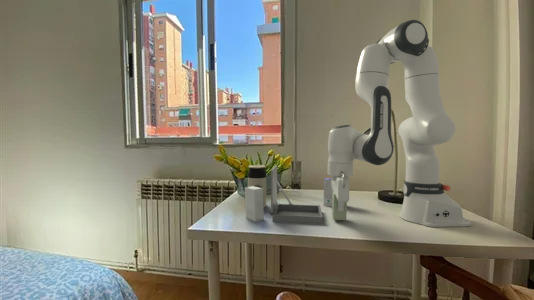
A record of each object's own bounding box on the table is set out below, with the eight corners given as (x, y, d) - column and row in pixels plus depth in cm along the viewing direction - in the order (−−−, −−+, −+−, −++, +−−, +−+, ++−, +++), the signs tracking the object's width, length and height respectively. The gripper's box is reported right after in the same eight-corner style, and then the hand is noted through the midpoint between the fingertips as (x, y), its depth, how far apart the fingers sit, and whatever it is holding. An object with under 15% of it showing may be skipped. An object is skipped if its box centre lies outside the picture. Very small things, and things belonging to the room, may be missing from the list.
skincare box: (264, 220, 101) (264, 188, 100) (254, 223, 98) (254, 189, 97) (253, 216, 105) (253, 185, 105) (244, 219, 102) (244, 187, 102)
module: (344, 216, 101) (345, 190, 101) (346, 219, 97) (346, 193, 96) (332, 215, 102) (332, 190, 101) (333, 219, 98) (333, 192, 97)
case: (319, 212, 112) (320, 165, 111) (322, 225, 96) (323, 171, 94) (275, 210, 114) (275, 165, 113) (270, 223, 98) (271, 170, 97)
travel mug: (250, 204, 124) (250, 164, 123) (267, 204, 123) (267, 165, 122) (245, 208, 117) (245, 166, 115) (264, 209, 115) (264, 167, 114)
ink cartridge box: (346, 205, 123) (347, 173, 122) (346, 208, 117) (347, 175, 116) (323, 203, 125) (324, 172, 124) (323, 207, 120) (323, 174, 119)
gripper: (354, 174, 88) (353, 217, 89) (344, 166, 108) (344, 201, 109) (334, 174, 89) (333, 216, 89) (328, 166, 109) (328, 201, 110)
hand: (339, 208), depth 99 cm, fingers closed on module, 4 cm apart
